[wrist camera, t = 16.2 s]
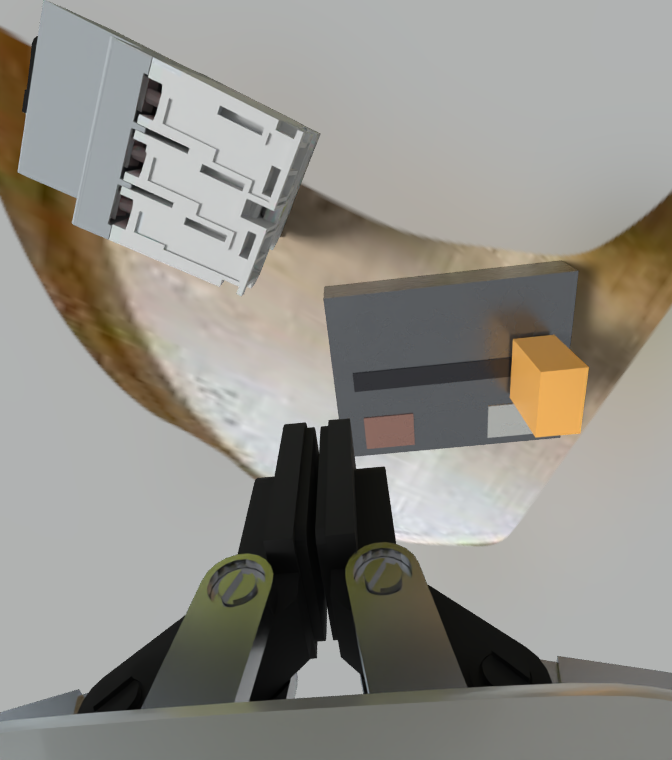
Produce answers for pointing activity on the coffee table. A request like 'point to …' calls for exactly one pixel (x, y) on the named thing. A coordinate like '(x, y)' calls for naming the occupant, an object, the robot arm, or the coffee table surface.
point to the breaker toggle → (548, 385)
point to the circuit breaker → (158, 151)
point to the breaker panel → (440, 353)
